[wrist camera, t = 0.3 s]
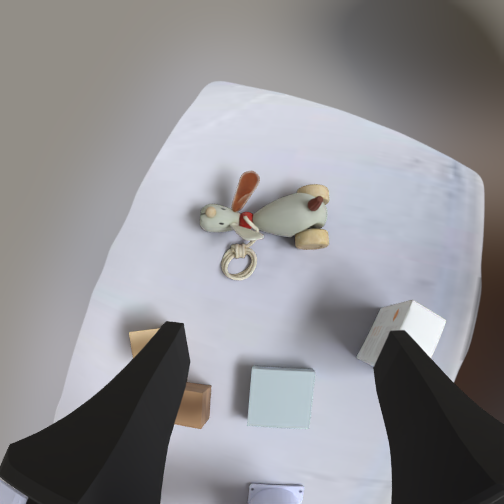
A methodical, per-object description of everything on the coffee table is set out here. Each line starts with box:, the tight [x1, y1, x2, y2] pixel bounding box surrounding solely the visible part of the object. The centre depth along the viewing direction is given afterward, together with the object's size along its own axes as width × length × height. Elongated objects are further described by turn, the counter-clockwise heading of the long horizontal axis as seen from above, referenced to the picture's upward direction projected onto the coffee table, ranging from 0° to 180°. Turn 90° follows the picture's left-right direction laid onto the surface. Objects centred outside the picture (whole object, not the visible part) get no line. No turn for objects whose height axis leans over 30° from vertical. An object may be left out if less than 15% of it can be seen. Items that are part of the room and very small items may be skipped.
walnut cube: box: [174, 382, 211, 429], centre depth 34 cm, size 5×5×5 cm
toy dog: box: [200, 171, 329, 280], centre depth 38 cm, size 12×19×9 cm, turn 110°
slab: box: [247, 366, 315, 429], centre depth 35 cm, size 8×8×3 cm
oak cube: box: [129, 328, 160, 358], centre depth 36 cm, size 5×5×5 cm
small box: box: [356, 300, 446, 367], centre depth 31 cm, size 8×6×10 cm
